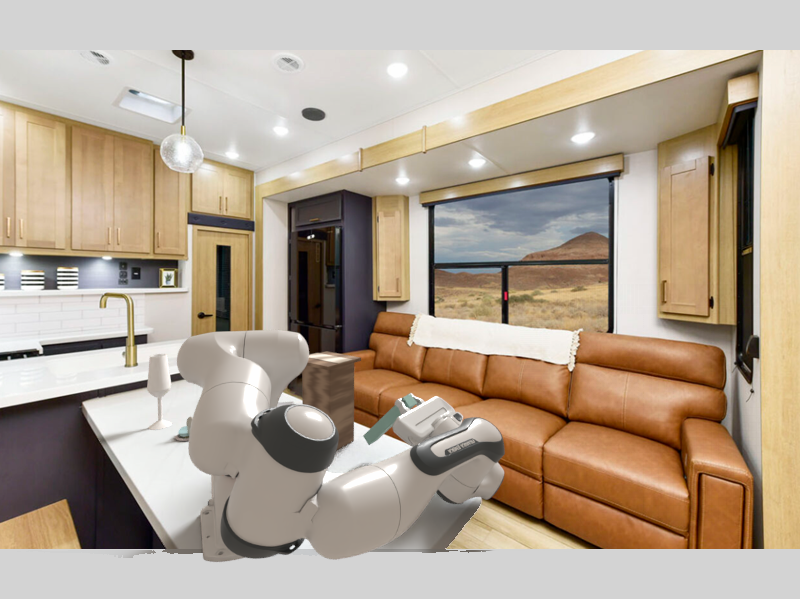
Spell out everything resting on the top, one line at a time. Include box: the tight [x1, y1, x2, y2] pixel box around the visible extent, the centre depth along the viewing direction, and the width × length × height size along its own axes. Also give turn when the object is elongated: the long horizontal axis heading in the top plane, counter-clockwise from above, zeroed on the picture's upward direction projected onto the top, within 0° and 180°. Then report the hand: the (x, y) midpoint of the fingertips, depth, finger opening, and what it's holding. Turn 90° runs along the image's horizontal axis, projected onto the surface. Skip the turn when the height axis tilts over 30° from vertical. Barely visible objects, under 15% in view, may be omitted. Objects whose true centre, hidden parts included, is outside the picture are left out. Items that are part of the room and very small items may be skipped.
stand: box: [301, 351, 362, 452], centre depth 107 cm, size 15×14×26 cm
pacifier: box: [174, 416, 193, 442], centre depth 109 cm, size 7×6×6 cm
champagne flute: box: [146, 353, 173, 431], centre depth 117 cm, size 7×7×24 cm
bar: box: [362, 393, 417, 446], centre depth 94 cm, size 19×4×3 cm
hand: (402, 397), depth 91 cm, fingers closed on bar, 3 cm apart
